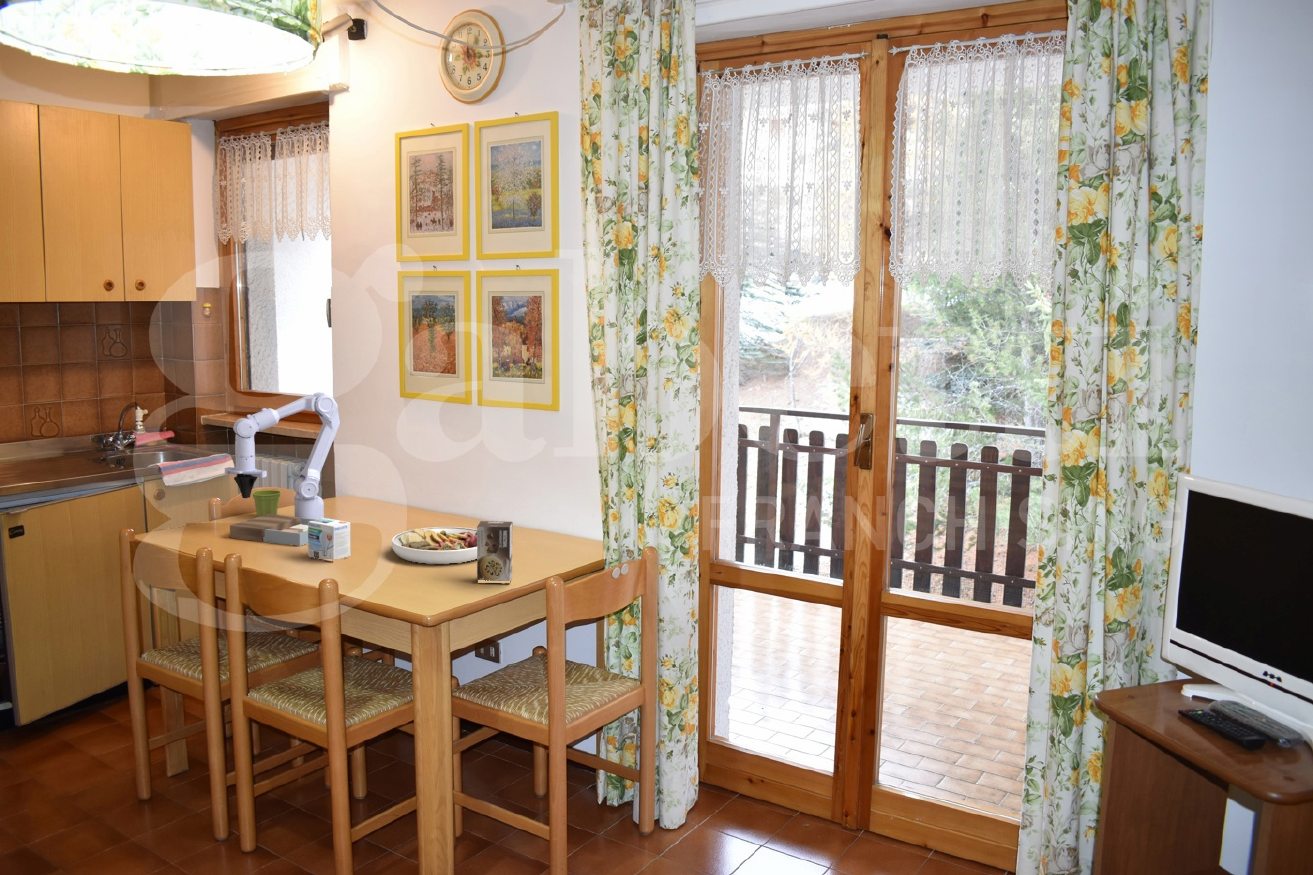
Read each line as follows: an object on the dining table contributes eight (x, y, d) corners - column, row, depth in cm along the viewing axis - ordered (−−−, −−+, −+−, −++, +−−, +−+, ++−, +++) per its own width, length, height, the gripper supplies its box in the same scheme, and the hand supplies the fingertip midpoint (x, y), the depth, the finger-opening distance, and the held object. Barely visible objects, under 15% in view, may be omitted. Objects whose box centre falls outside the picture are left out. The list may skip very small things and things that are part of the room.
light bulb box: (307, 557, 275) (306, 521, 273) (325, 552, 281) (324, 517, 279) (334, 563, 270) (333, 526, 268) (351, 558, 276) (351, 522, 274)
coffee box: (512, 578, 262) (513, 521, 259) (509, 584, 255) (510, 526, 253) (479, 577, 261) (480, 520, 259) (476, 584, 255) (476, 525, 253)
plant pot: (253, 514, 326) (253, 489, 324) (282, 513, 328) (282, 489, 327) (250, 520, 317) (250, 495, 316) (280, 519, 320) (280, 494, 318)
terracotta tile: (298, 530, 293) (298, 538, 294) (284, 529, 295) (285, 537, 295) (287, 534, 289) (287, 542, 289) (274, 532, 290) (274, 540, 290)
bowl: (391, 569, 267) (391, 542, 265) (392, 543, 295) (392, 518, 294) (498, 566, 274) (498, 539, 273) (489, 540, 303) (489, 516, 302)
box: (301, 529, 307) (301, 517, 307) (336, 533, 303) (336, 521, 303) (263, 541, 290) (263, 529, 289) (299, 546, 286) (299, 533, 286)
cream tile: (313, 525, 301) (313, 533, 301) (300, 524, 302) (300, 531, 302) (303, 529, 296) (303, 536, 296) (289, 527, 297) (289, 535, 298)
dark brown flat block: (269, 525, 311) (269, 513, 310) (300, 529, 307) (300, 517, 307) (230, 537, 293) (229, 525, 293) (262, 541, 290) (262, 529, 290)
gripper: (217, 455, 300) (218, 497, 302) (255, 459, 296) (256, 502, 298) (233, 452, 306) (234, 494, 308) (270, 456, 302) (271, 498, 304)
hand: (246, 497), depth 303 cm, fingers closed
